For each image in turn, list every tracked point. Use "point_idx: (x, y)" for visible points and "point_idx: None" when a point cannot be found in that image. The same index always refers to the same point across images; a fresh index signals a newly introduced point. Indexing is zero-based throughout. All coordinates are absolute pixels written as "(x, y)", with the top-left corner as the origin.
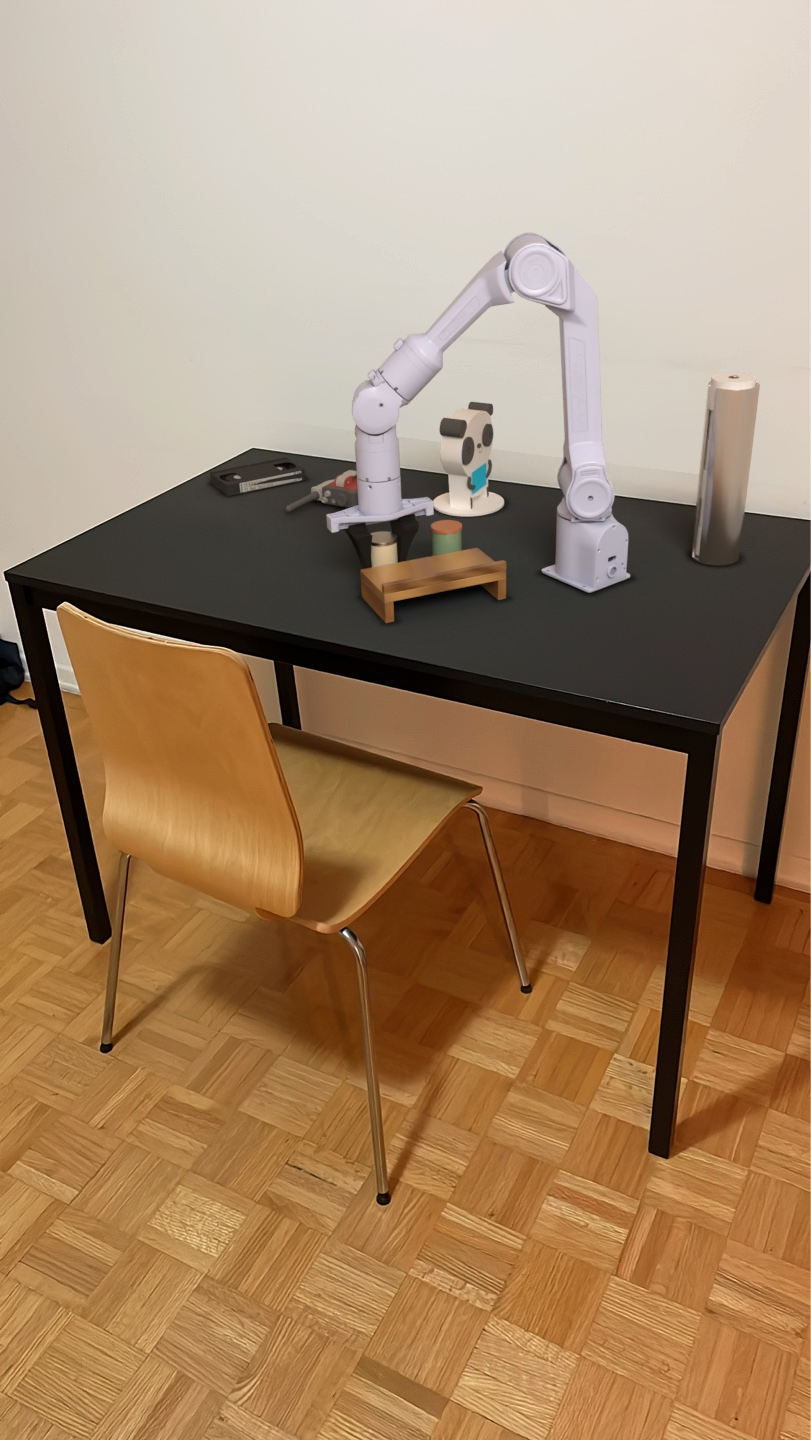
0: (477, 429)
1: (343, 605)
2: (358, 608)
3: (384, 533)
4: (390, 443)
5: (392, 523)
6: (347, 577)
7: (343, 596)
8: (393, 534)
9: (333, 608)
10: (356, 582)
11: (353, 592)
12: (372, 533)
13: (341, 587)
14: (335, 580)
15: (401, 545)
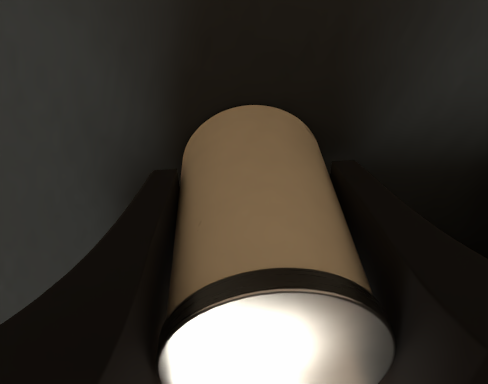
0: None
1: (45, 285)
2: None
3: (327, 331)
4: None
5: (444, 367)
6: (87, 46)
7: (49, 228)
8: (376, 356)
9: (6, 293)
10: (126, 124)
11: (96, 210)
12: (239, 306)
13: (45, 150)
14: (13, 58)
15: None
